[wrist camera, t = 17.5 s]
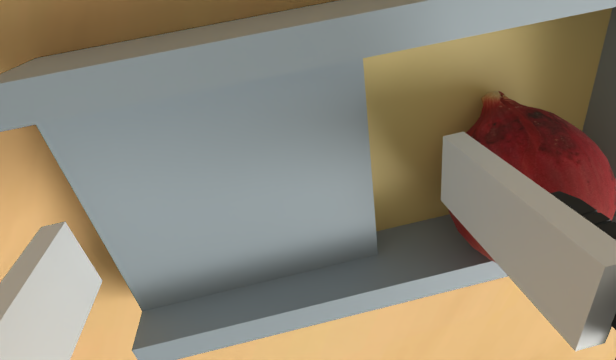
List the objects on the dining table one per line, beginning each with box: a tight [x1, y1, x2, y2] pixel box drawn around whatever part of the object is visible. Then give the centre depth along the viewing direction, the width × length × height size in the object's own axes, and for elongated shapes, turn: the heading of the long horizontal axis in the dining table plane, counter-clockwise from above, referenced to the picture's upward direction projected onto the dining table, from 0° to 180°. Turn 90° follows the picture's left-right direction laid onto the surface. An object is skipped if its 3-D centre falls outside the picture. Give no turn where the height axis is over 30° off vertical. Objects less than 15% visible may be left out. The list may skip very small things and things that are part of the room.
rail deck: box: [0, 0, 616, 360], centre depth 14 cm, size 23×12×6 cm, turn 99°
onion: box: [448, 91, 616, 263], centre depth 15 cm, size 6×6×8 cm
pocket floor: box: [363, 8, 612, 232], centre depth 17 cm, size 11×10×1 cm
